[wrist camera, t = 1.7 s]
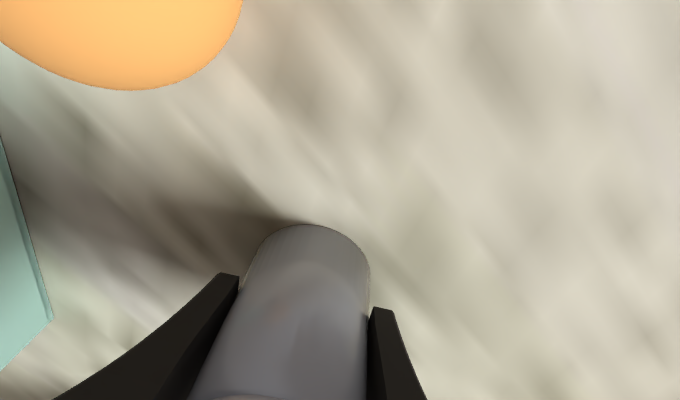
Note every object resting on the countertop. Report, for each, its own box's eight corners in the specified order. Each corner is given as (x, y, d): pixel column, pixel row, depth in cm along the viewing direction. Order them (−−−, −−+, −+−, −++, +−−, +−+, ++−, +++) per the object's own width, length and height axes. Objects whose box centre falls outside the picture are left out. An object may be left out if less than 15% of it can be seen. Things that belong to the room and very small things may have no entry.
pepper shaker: (355, 324, 15) (338, 556, 9) (250, 301, 15) (158, 518, 9) (383, 240, 12) (388, 472, 6) (259, 212, 12) (145, 420, 6)
